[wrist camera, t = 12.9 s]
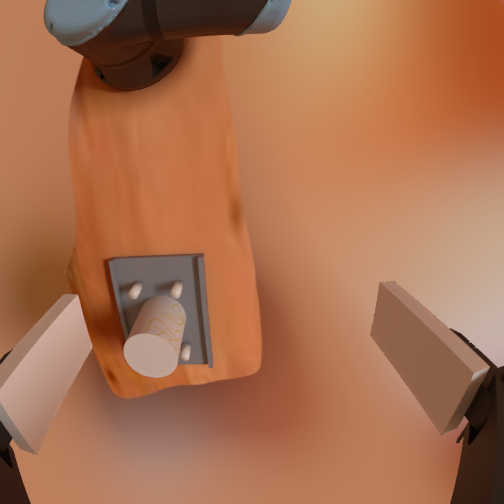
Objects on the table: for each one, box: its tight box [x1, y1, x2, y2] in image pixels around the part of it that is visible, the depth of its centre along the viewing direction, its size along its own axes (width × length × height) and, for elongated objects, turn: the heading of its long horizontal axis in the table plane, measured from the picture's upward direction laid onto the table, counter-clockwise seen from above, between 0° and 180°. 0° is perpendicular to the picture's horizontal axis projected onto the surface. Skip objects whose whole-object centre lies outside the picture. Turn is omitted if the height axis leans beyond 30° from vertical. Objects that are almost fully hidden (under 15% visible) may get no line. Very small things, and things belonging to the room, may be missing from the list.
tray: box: [109, 253, 213, 368], centre depth 50 cm, size 22×16×5 cm
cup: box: [124, 295, 186, 378], centre depth 45 cm, size 8×8×12 cm
